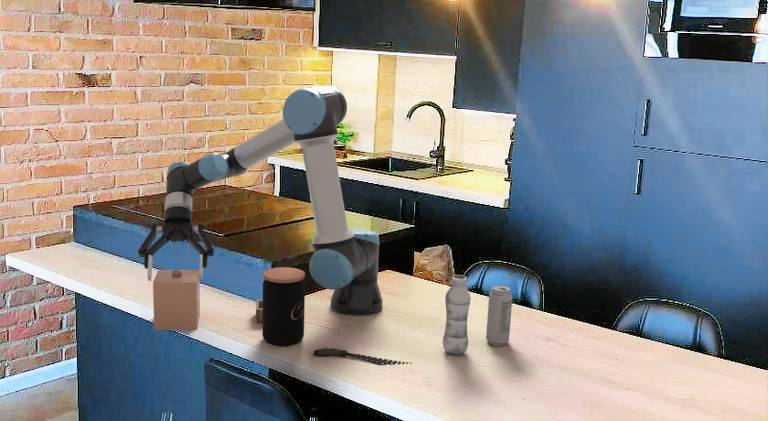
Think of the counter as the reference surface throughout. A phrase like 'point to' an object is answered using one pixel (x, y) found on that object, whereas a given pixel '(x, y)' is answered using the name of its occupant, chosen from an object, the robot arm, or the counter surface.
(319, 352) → the knife
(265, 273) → the coffee jar
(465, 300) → the plastic bottle
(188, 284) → the cube with knob
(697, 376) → the counter surface
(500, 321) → the energy drink can
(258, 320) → the walnut open box
